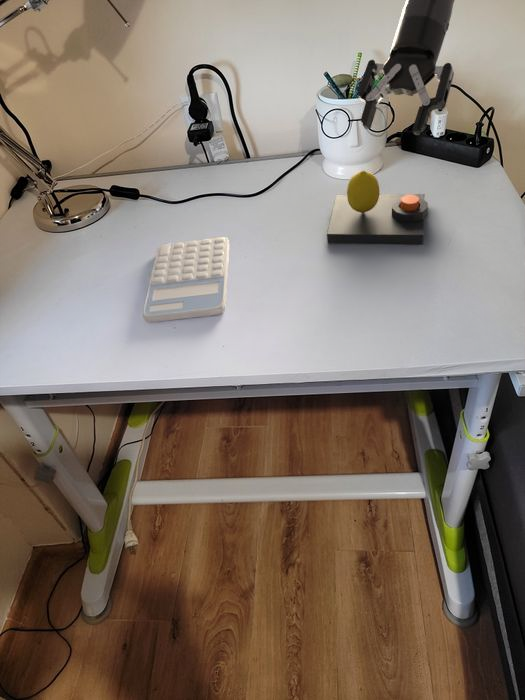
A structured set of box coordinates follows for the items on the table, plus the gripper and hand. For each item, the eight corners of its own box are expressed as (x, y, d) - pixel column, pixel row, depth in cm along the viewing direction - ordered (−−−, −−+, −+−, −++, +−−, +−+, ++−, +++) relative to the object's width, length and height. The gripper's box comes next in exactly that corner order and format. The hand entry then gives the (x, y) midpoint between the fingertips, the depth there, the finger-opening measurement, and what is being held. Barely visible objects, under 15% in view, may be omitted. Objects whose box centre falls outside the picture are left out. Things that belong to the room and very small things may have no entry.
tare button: (418, 202, 88) (419, 194, 87) (418, 211, 86) (419, 203, 85) (401, 202, 89) (401, 194, 88) (400, 211, 87) (400, 203, 86)
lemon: (344, 221, 89) (343, 179, 84) (350, 204, 93) (349, 162, 87) (376, 222, 88) (377, 179, 82) (381, 205, 91) (382, 163, 86)
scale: (426, 203, 93) (428, 185, 91) (425, 244, 85) (427, 226, 82) (336, 203, 97) (335, 187, 95) (327, 243, 89) (326, 226, 86)
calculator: (230, 242, 93) (228, 233, 92) (225, 315, 79) (223, 306, 78) (159, 251, 94) (157, 242, 93) (143, 324, 80) (139, 316, 79)
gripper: (373, 13, 80) (342, 116, 82) (464, 12, 74) (428, 125, 76) (386, 40, 87) (357, 135, 89) (471, 42, 80) (438, 144, 82)
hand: (390, 130), depth 82 cm, fingers open, 8 cm apart
